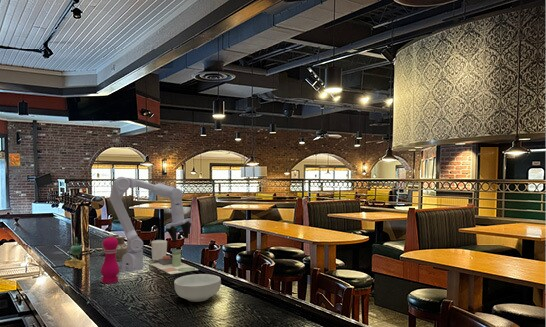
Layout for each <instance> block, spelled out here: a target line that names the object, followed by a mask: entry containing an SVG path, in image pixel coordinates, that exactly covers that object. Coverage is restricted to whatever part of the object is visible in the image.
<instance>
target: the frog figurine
mask: <svg viewBox="0 0 546 327" xmlns="http://www.w3.org/2000/svg"><path fill="white" fill-rule="evenodd" d="M78 240H79V239H78V237H77V236H76V237H75V242H74V243H71V244H70V245H69V247H70V249H69V250H68V252H67V254H68V256H67V257H66V258H67V259H66V260H65V262H64V265H65V266H66V267H70V268H74V269H75V268H78V269H82V268H84V267H85V266H86V265H87V262H85V261H84V260H80V259H79V258H80V254H81V253H83V254H84V256H86V253H85V252H84V251H83V250H82V249H83V248H84V243H83V242H81V243H78ZM71 254H72V255H73V256H74V258H73V256H72V255H71ZM76 256H77V257H78V259H77V257H76ZM83 266H84V267H83Z"/></svg>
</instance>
